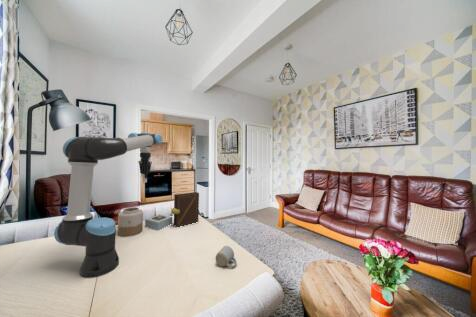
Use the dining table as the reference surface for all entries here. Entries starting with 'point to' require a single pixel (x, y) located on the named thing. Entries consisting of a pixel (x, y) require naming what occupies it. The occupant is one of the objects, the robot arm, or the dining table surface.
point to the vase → (130, 222)
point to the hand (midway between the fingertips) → (144, 182)
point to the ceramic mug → (225, 257)
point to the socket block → (158, 222)
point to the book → (186, 208)
